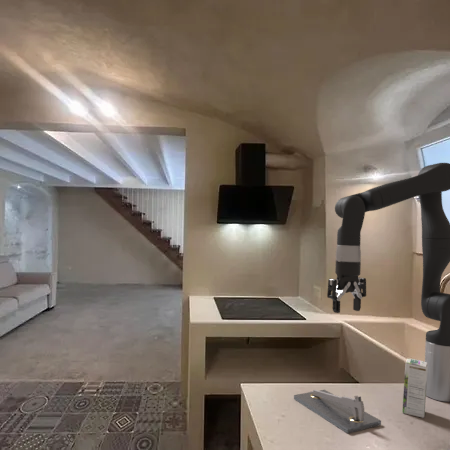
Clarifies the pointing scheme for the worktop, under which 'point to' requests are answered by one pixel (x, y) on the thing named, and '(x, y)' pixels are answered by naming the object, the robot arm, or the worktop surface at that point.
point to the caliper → (345, 403)
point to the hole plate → (336, 413)
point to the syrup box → (415, 387)
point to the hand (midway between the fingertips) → (346, 311)
